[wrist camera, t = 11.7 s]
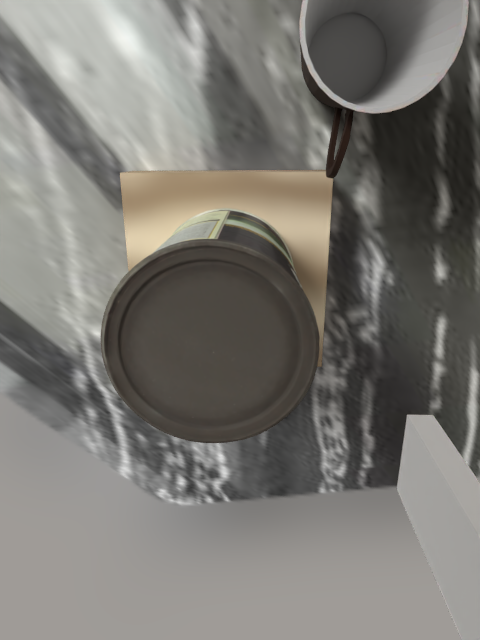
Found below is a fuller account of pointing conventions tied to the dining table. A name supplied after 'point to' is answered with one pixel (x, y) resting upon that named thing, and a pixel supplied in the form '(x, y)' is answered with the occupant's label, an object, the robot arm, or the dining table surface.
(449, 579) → the robot arm
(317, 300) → the oak riser
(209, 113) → the dining table surface
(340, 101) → the coffee mug
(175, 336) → the coffee can
